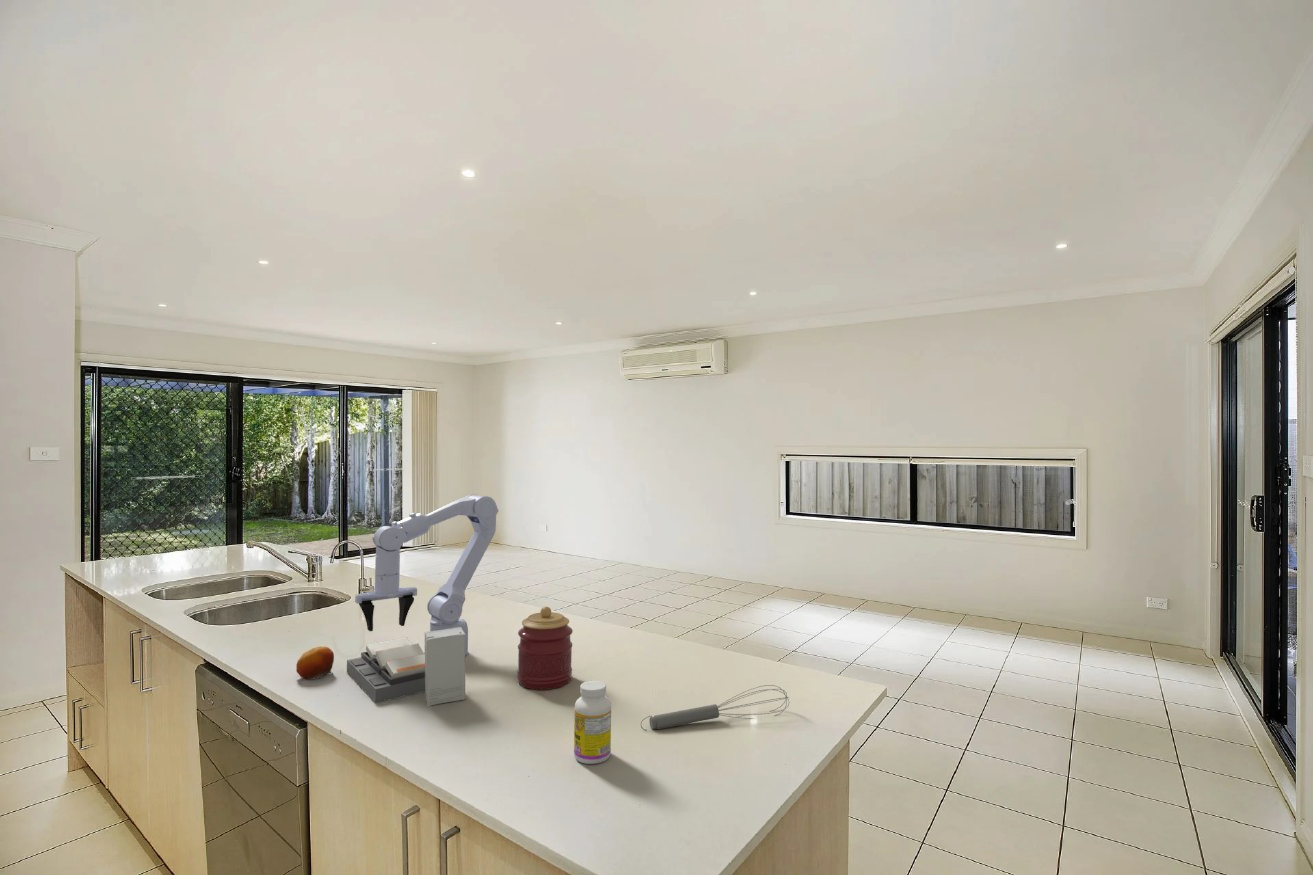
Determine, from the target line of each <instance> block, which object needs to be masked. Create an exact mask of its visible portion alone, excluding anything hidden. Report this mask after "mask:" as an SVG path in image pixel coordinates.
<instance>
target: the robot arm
mask: <svg viewBox="0 0 1313 875" xmlns="http://www.w3.org/2000/svg"><path fill="white" fill-rule="evenodd" d="M498 513H499V509H498V506H497V504H496V502H495V500H494V499H493V498H492V497H490V496H488V495H483V496H482V495H478V494H473V493H472V494H469V495H467V496H464V497H460V498H458V499H456V500H453V501H452V502H450V503H448V504H445V505H444V506H441V507H440V508H437V509H436V510H434V511H431V512H429V513H426V514H423V513H421V512H418V513H415V512H411V513H410V514H409V515H408V516H409V517H408V516H407V517H406V518H403V519H401V520H400V521H399V520H398V521H396V520H394V521H392V522H391V526H390V525H384V526H381V527H379V528H378V529H376V530H377V531H375V532H374V534H373V536H372V542H373V544H374V546H375V564H374V565H375V569H374V590H372V591H368V592H363V593H358V594H357V593H356V594H355V595H354V598H355V599H354V600H355V601H354V603H356V604H357V605H358V606H359V608H360V609H361V611H362V613H363V616H364V618H365V622H366V627H367V628H366V629H367V630H368V631H369V632H373V631H374V612H375V605H374V604H373V602H375V601H382V600H389V599H398V608H399V613H398V625H400V626H401V627H405V624H406V620H407V617H408V614H409V610H410V609H411V608H412V607H411V606H413V603H414V602H415V596H416V597H417V596H418V588H417V587H416V586H410V587H400V575H401V574H400V571H401V570H400V569H401V568H400V567H401V552H400V551H401V550H400V549H401V547H402V546H403V544H405V543H408V542H411V541H412V540H415V539H416V538H419V537H421V536H423V535H425V534H427V533H429V531H430V528H431V527H432V526H435V525H437V524H440V523H443V522H444V521H447V520H450V519H452V518H455V517H457V516H466V517H467V518H468V520H470V523H471V526H472V528H473V533H472V535H471V537H470V539H469V541H468V543H467V544H466V545H465V548H464V550H463V551H462V554H461V555H460V557H459V558H458V561H457V562H456V564H455V567H454V568H453V570H452V572H451V574H449V578H448V579H447V581H446V582H445V584H443V585H441V587H439V588H438V590H437V592H436V593H435V594H434V595H433V596H431V598H429V600H428V602H427V605H426V608H427V609H426V610H427V612H428V614H429V615H430V616H431V617H430V620H429V622H430V623H429V632H430V631H437V630H444V629H451V628H457V627H461V628H462V630H463V631H464V633H465V656H467V655H470V653H469V651H468V650H469V648H468V647H469V627H468V623H467V621H466V620H465V619H464V618H461V616H462V613H463V607H464V603H465V601H466V594H465V591H466V589H467V587H468V585H469V583H470V582H471V580H472V578H473V576H474V574H475V572H476V570H477V568H478V566H479V565H480V562H481V561H482V559H483V556H484V554H485V553H486V551H487V549H488V547H489V545H490V543H491V541H492V540H493V538H494V536H495V535H496V530H497V529H496V528H497V514H498ZM423 653H424V654H425V651H423Z"/></svg>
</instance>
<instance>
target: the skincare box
mask: <svg viewBox="0 0 1313 875" xmlns="http://www.w3.org/2000/svg"><path fill="white" fill-rule="evenodd" d="M424 652H425V691H424V697H425V701H426V704H427V706H428V707H431V706H434V705H440V704H445V703H450V702H451V703H452V702H457V701H463V700H466V655H465V633H464V631H463V630H462V628H461V627H457V628H451V629H444V630H437V631H430V630H429V631H425V632H424Z"/></svg>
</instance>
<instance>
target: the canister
mask: <svg viewBox="0 0 1313 875" xmlns="http://www.w3.org/2000/svg"><path fill="white" fill-rule="evenodd" d="M569 623H570V619H569V618H568V617H566V616H564V615H563V614H562V613H559V612H553V611H552V609H551V608H550V607H549V606H543V607H542V608H540V611H539V612H536V613H532V614H530V615H529V616H527V617H525V618H524V619H523V620H522V621H521V625H522V626H523V627H521V628H520V629H519V630H518V632H517V634H518V637H520V640H519V643H518V645H517V649H518V661H517V663H518V667H517V668H518V669H517V671H516V672H517V679H518V680H517V681H518V682H517V683H518V684H519V685H520V686H521V687H524V688H526V689H530V690H537V691H539V690H540V691H543V690H552V689H553V690H554V689H556V688H557V689H558V688H561V687H562V686H565V685H567V684H569V683H570V682H571V680H572V674H573V668H572V650H573V649H572V648H573V642H572V641H571V635H572V634H573V629H572V627H570V626H569V625H568V624H569Z"/></svg>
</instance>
